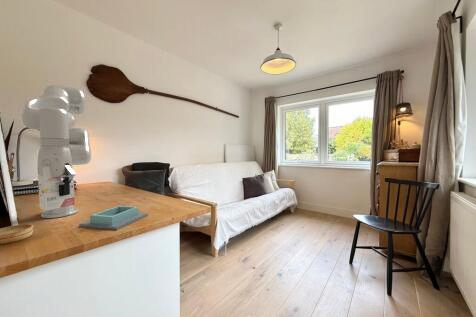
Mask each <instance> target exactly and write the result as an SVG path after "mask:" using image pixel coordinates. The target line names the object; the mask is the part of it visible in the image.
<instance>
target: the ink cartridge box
mask: <svg viewBox="0 0 476 317" xmlns="http://www.w3.org/2000/svg"><path fill="white" fill-rule="evenodd" d="M63 175H66V174H63ZM37 179H38V180H37V181H38V182H37V183H38V197H39V198H38V199H39V200H38V201H39V209H40V210H43V211H45V210H50V209H55V208H60V207H65V206H70V205H75V187H74V186H75V184H74V183H75V182H74V178H73V179H72V180H71V183H70V194H69V195H65V196H59V185H61V184H60V181H59V179H58V177H51V174H50V167H43V175H38V174H37ZM64 179H65V177H64V178H63V180H64Z"/></svg>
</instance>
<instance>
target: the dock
mask: <svg viewBox="0 0 476 317" xmlns="http://www.w3.org/2000/svg"><path fill="white" fill-rule="evenodd" d="M148 216H149V213H148V212H139V206H129V205H117V206H114V207H112V208H108V209H105V210H102V211H99V212H96V213H93V214H90V215H89V219H88V220H86V221H83V222H80V223H79V225H78V227H80V228H81V227H82V228H91V229H92V228H93V229H103V230H111V231H118V230H120V229H123V228H124V227H127V226H128V225H131V224H133V223H135V222H137V221H140V220H141V219H143V218H146V217H148Z"/></svg>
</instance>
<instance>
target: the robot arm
mask: <svg viewBox="0 0 476 317" xmlns="http://www.w3.org/2000/svg"><path fill="white" fill-rule="evenodd" d="M85 107H86V96H85V94H84V92H83V90H81V89H79V88H76V87H71V86H64V85H57V84H52V85H51V84H50V85H47V86H46V87H45V88H44V89H43V94H41V96H39V97H37V98H33V99H30V100H29V101H27V102H26V103H25V104H24V107H23V109H22V114H21V116H22V117H21V121H22V124H23V125H24V127H26V128H28V129H30V130H39V146H40V147H39V149H38V155H37V165H36V166H37V176H38V175H43V167H50V174H51V177H58V179H59V181H60V184H61V185H59V196H65V195H69V194H70V183H71V180H72V179H73V180H74V177H75V176H76V172H75V171H74V170H73V166H81V165H87V164H89V163H90V162H91V159H92V152H91V143H90V136H89V133H88V131H87V129H84V128H81V127H75V124H76V121H75V120H76V119H75V117H74V116H73V115H81V114H83V113H84V112H85ZM63 174H66V175H63ZM64 177H65V179H64V180H63V178H64ZM74 205H75V204H74ZM74 205H70V206H65V207H60V208H55V209H50V210H44V212H43V213H42V212H41V214H40V217H41V218H43V219H53V218H54V219H56V218H62V217H67V216H71V215H74V214H76V213H78V212H79V209H78V207H75V206H74Z"/></svg>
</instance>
